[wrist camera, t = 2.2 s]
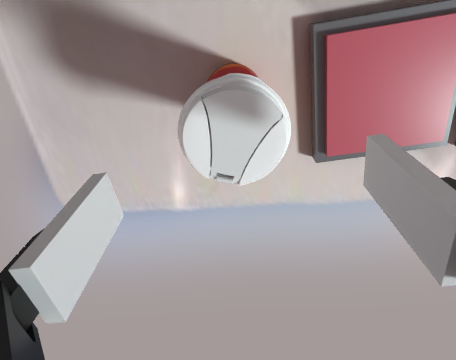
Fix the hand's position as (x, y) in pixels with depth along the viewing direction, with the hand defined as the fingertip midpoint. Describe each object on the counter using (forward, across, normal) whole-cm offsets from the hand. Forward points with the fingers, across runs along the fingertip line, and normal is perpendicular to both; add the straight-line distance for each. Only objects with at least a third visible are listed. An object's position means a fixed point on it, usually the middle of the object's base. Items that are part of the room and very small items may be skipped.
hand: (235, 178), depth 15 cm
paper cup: (+19, 0, 0) cm, 19 cm away
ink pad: (+19, +15, -2) cm, 24 cm away
